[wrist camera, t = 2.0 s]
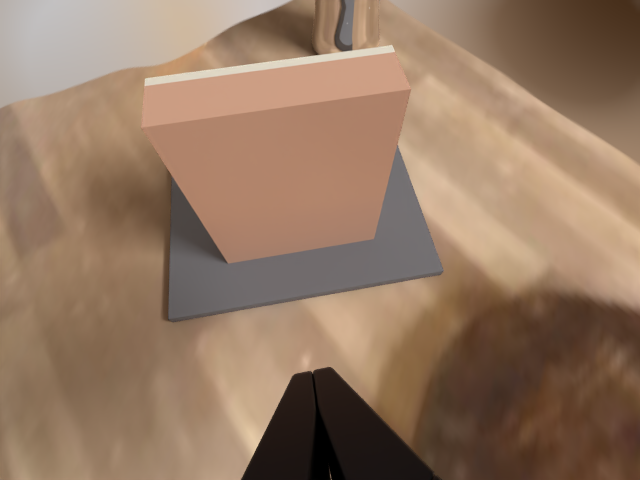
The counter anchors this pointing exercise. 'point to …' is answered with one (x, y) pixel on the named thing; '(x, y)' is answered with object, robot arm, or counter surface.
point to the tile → (282, 147)
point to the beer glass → (345, 25)
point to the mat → (297, 259)
